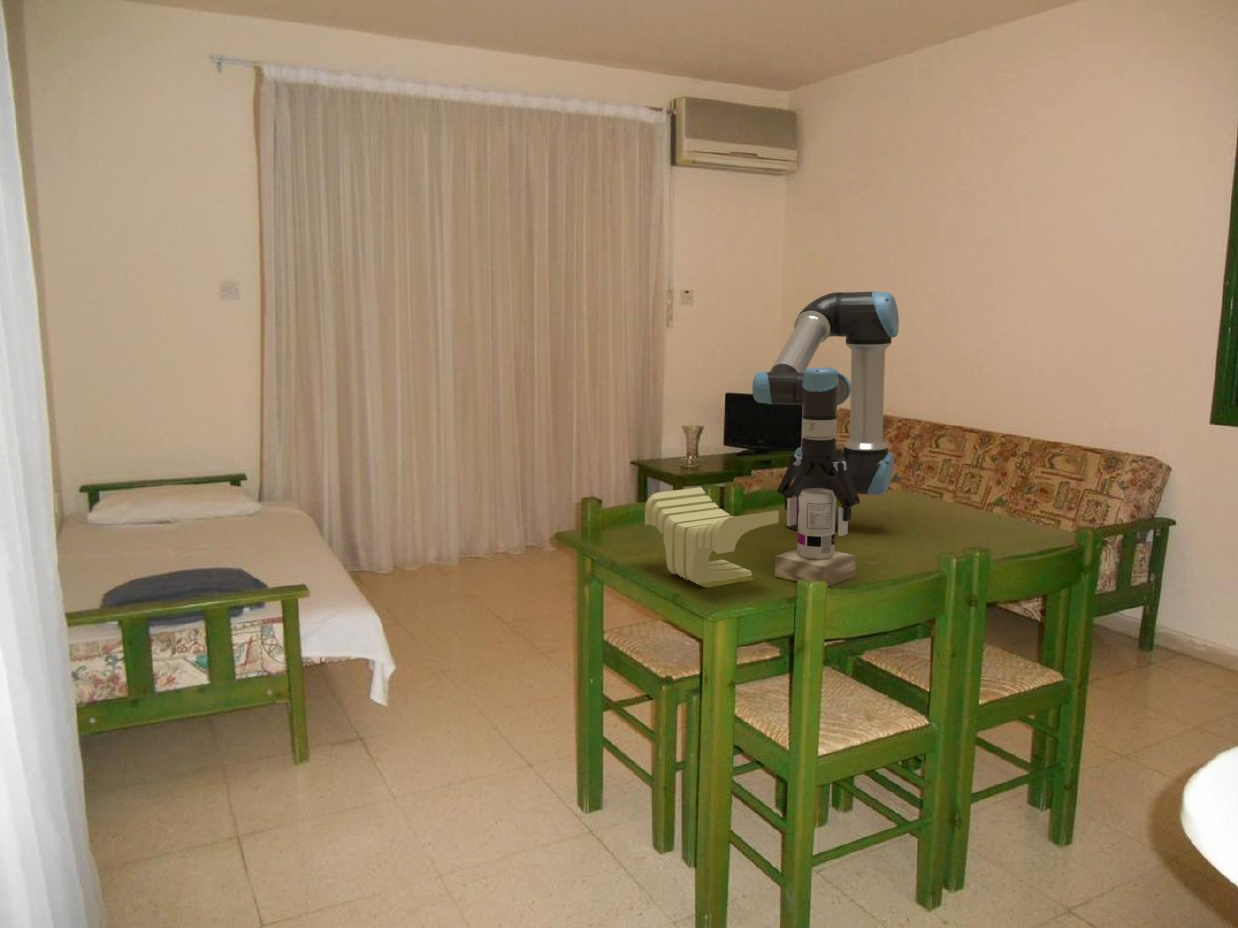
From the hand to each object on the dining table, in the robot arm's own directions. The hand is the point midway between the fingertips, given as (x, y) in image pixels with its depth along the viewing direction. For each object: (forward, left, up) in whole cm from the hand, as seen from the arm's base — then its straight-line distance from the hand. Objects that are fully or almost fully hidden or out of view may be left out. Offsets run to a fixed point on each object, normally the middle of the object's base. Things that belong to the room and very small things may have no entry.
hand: (816, 529), depth 209 cm
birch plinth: (0, 0, -11) cm, 11 cm away
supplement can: (0, 0, -6) cm, 6 cm away
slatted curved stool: (-17, -18, -11) cm, 27 cm away
